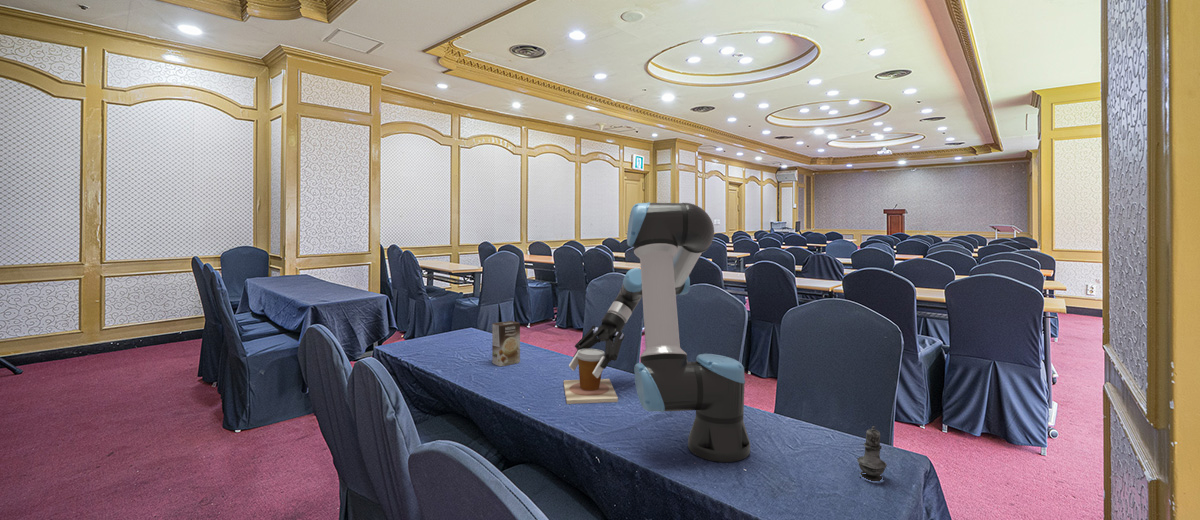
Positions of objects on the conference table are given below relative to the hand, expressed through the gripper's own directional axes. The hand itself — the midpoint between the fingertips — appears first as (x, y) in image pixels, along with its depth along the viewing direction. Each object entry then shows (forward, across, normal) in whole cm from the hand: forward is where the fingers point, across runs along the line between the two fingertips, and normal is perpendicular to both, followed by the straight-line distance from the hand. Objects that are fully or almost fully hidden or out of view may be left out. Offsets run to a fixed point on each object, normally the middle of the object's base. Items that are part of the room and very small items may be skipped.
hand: (582, 371), depth 174 cm
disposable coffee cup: (+2, 0, -6) cm, 7 cm away
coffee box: (+3, +48, -8) cm, 49 cm away
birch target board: (+3, 0, -7) cm, 8 cm away
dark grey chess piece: (-1, -86, -11) cm, 86 cm away
